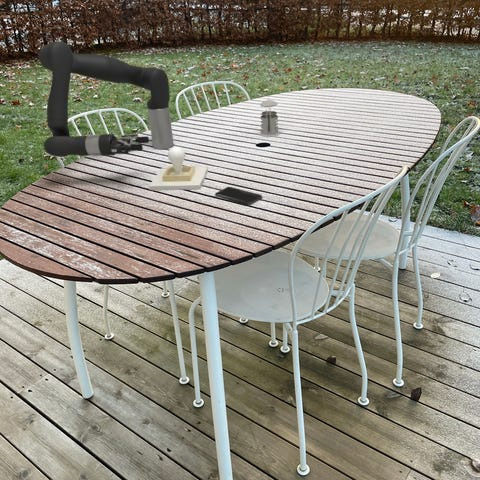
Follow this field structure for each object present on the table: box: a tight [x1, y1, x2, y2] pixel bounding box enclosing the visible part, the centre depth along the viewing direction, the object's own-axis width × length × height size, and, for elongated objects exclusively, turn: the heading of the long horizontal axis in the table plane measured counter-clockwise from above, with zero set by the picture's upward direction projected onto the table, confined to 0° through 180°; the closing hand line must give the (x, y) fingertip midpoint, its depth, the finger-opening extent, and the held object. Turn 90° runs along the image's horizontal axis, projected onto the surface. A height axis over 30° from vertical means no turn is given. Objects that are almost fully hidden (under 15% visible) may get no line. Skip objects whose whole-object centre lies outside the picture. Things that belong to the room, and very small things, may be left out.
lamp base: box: [148, 165, 209, 191], centre depth 172 cm, size 18×18×4 cm
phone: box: [214, 186, 263, 206], centre depth 156 cm, size 8×1×15 cm
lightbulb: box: [167, 146, 186, 175], centre depth 169 cm, size 6×6×11 cm
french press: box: [258, 77, 281, 138], centre depth 212 cm, size 10×12×25 cm
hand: (145, 143), depth 167 cm, fingers open, 8 cm apart
